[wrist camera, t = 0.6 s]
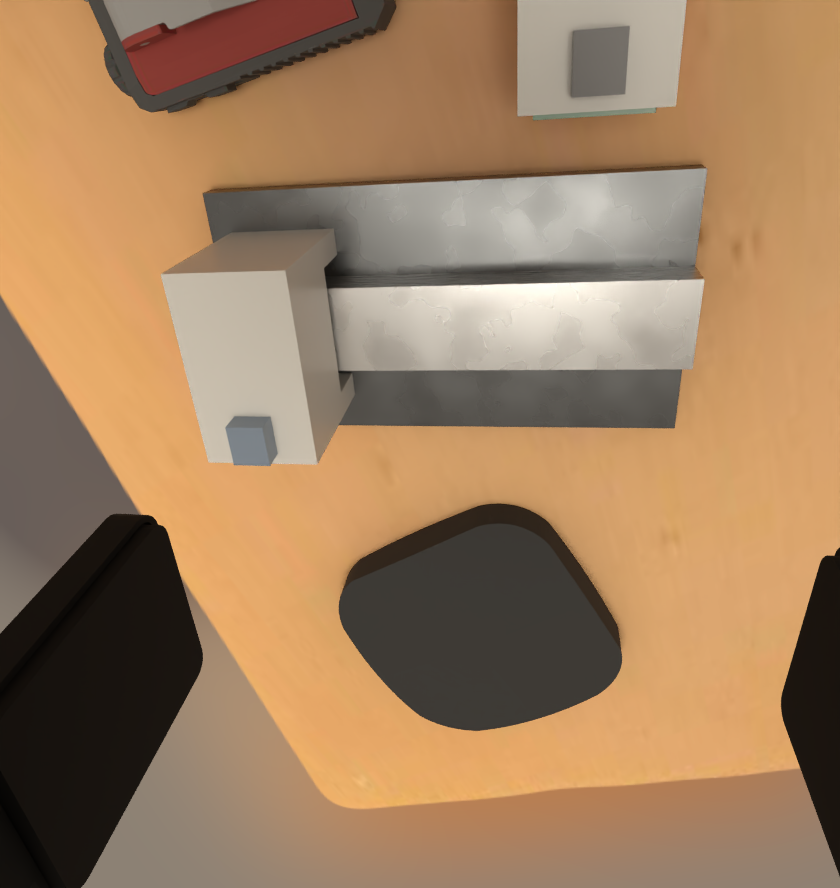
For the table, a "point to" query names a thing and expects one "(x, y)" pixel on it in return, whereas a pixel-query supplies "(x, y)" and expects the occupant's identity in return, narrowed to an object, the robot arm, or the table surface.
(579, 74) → the block
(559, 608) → the media streaming box
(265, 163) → the table surface
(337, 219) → the rail plate
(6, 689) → the robot arm
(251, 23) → the walkie-talkie
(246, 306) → the mounted module
